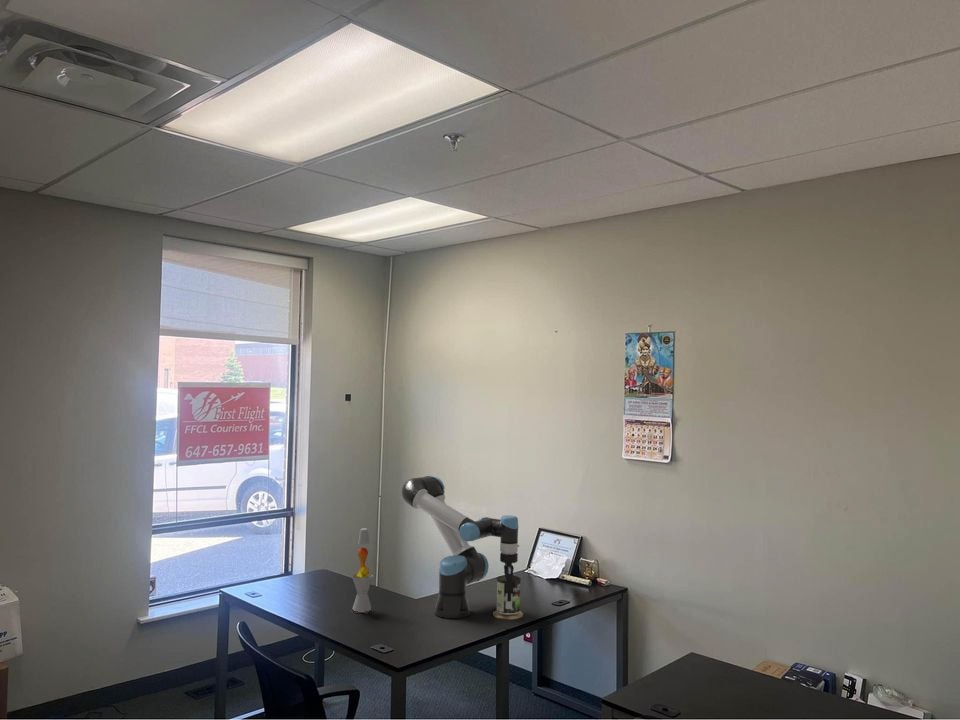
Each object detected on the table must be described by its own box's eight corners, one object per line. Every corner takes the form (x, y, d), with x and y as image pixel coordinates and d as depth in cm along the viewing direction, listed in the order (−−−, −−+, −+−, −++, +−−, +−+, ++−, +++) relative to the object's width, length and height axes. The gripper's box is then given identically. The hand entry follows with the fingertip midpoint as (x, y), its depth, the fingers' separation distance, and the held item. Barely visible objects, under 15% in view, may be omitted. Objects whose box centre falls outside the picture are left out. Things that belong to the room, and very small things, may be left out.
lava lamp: (347, 610, 301) (349, 528, 303) (364, 606, 308) (366, 526, 309) (359, 615, 295) (361, 531, 297) (376, 611, 301) (378, 529, 303)
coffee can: (523, 610, 302) (524, 577, 302) (513, 616, 292) (514, 582, 293) (502, 606, 306) (503, 573, 307) (491, 612, 297) (492, 579, 298)
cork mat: (493, 619, 293) (493, 617, 293) (492, 610, 306) (492, 608, 306) (524, 619, 293) (524, 618, 293) (521, 610, 306) (521, 608, 306)
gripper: (519, 558, 290) (518, 613, 288) (515, 546, 312) (515, 597, 311) (501, 558, 289) (500, 612, 288) (499, 546, 312) (498, 597, 311)
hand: (508, 604), depth 300 cm, fingers closed on coffee can, 10 cm apart
